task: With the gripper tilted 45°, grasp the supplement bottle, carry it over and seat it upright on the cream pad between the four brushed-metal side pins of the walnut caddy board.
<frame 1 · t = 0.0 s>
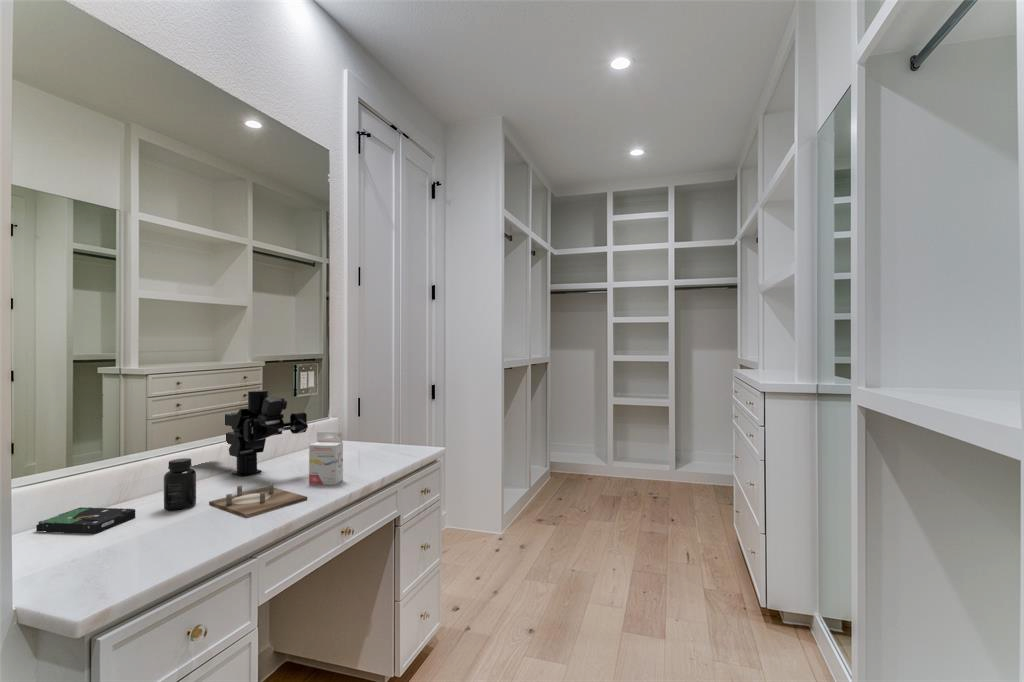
hand: (293, 428, 143), 17 cm above the worktop, tool horizontal, fingers open, 9 cm apart
supplement bottle: (180, 508, 124), on the worktop
caddy: (250, 501, 128), on the worktop
ink cartridge box: (326, 483, 146), on the worktop
disk drive: (87, 527, 112), on the worktop
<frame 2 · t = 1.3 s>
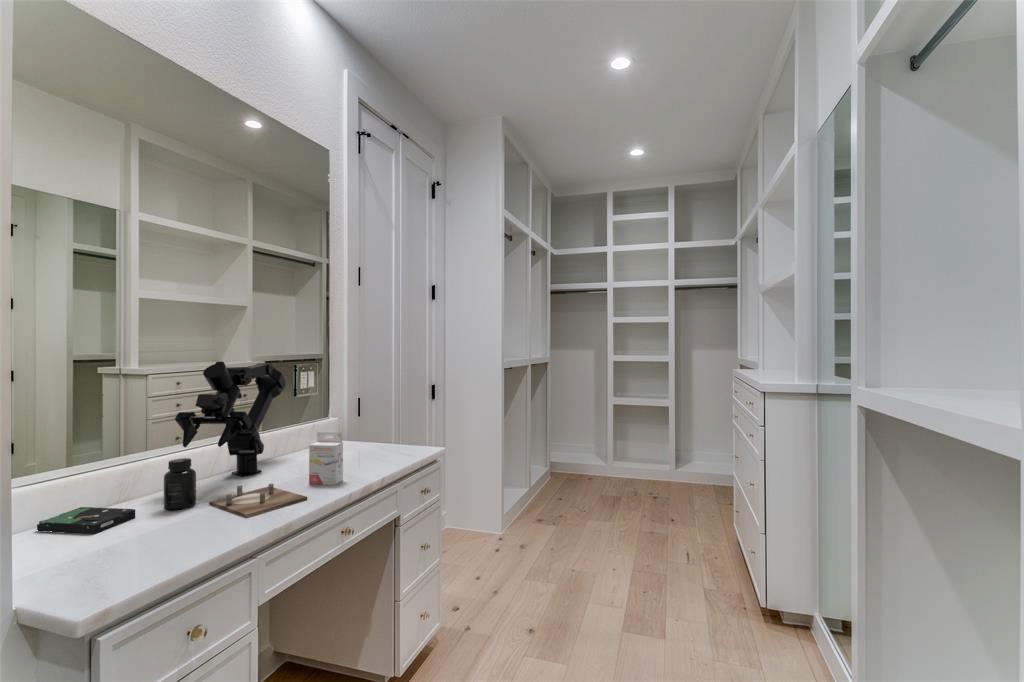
hand: (201, 446, 133), 14 cm above the worktop, tool tilted 45°, fingers open, 9 cm apart
nothing on the worktop moved.
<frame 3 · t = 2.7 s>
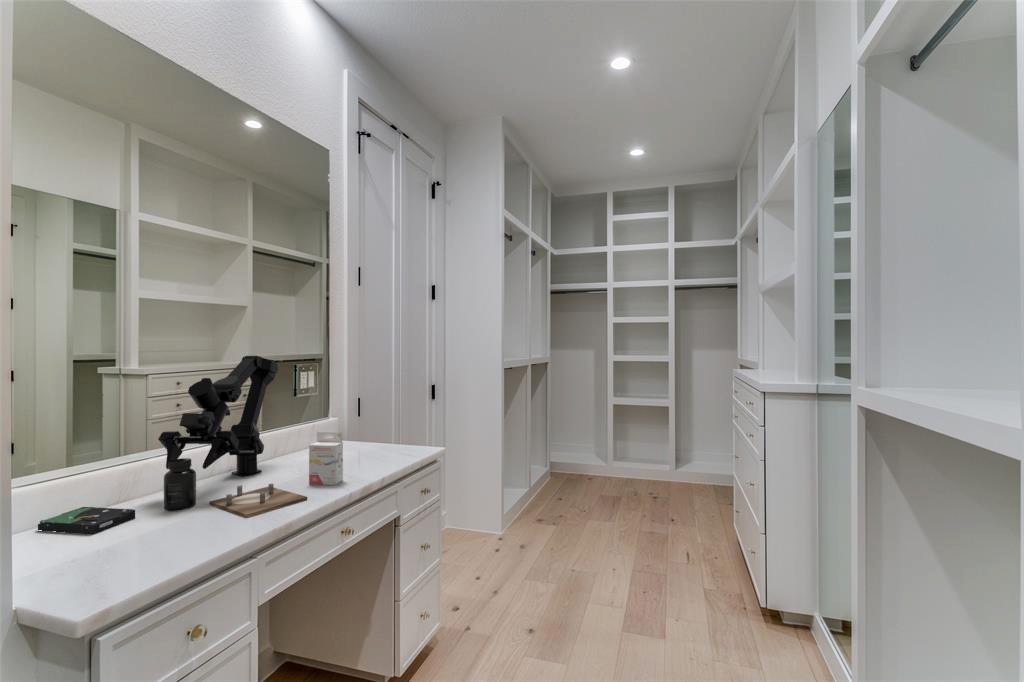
hand: (185, 468, 126), 9 cm above the worktop, tool tilted 45°, fingers open, 9 cm apart
nothing on the worktop moved.
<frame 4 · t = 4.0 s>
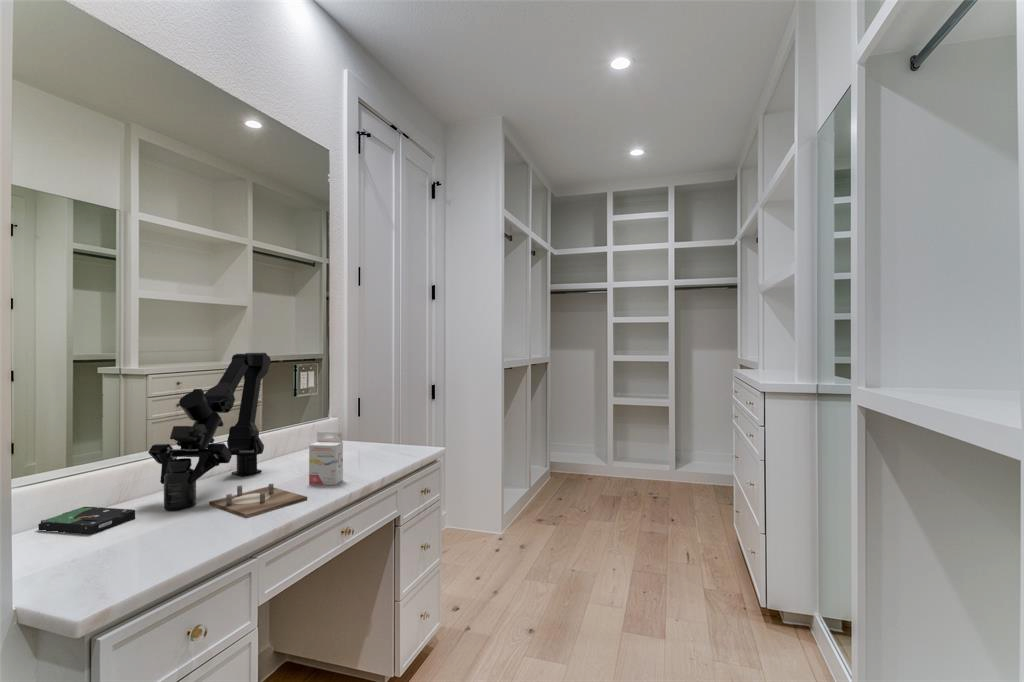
hand: (176, 482, 123), 7 cm above the worktop, tool tilted 45°, fingers closed on supplement bottle, 7 cm apart
supplement bottle: (180, 508, 124), on the worktop, touching gripper
everything else where it was.
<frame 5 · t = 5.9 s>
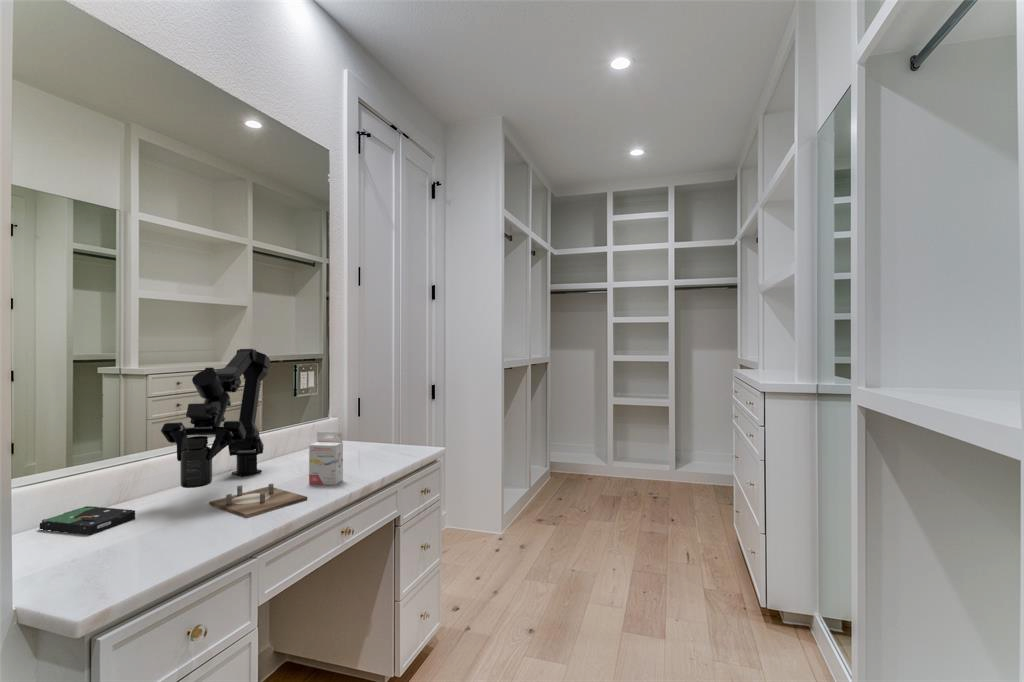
hand: (193, 459, 123), 12 cm above the worktop, tool tilted 45°, fingers closed on supplement bottle, 7 cm apart
supplement bottle: (196, 485, 124), point 5 cm above the worktop, touching gripper
everything else where it was.
when the fingers open (9 cm above the worktop, at t = 8.0 s): supplement bottle drops 1 cm, resting on caddy.
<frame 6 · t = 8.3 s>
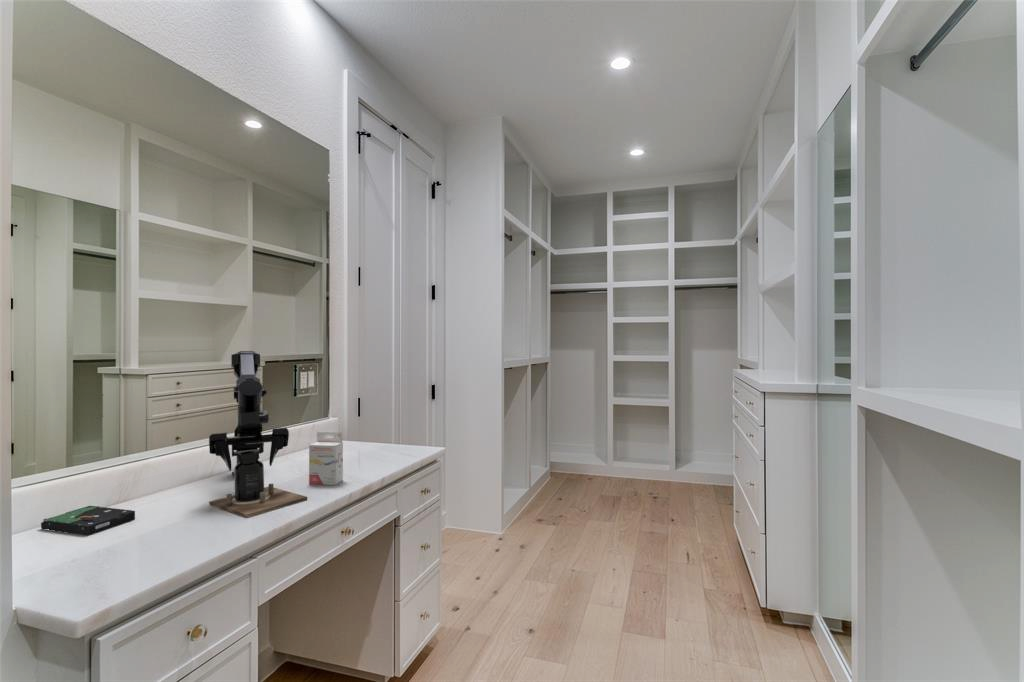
hand: (250, 467, 127), 9 cm above the worktop, tool tilted 45°, fingers open, 9 cm apart
supplement bottle: (249, 499, 128), point 1 cm above the worktop, touching caddy
everything else where it was.
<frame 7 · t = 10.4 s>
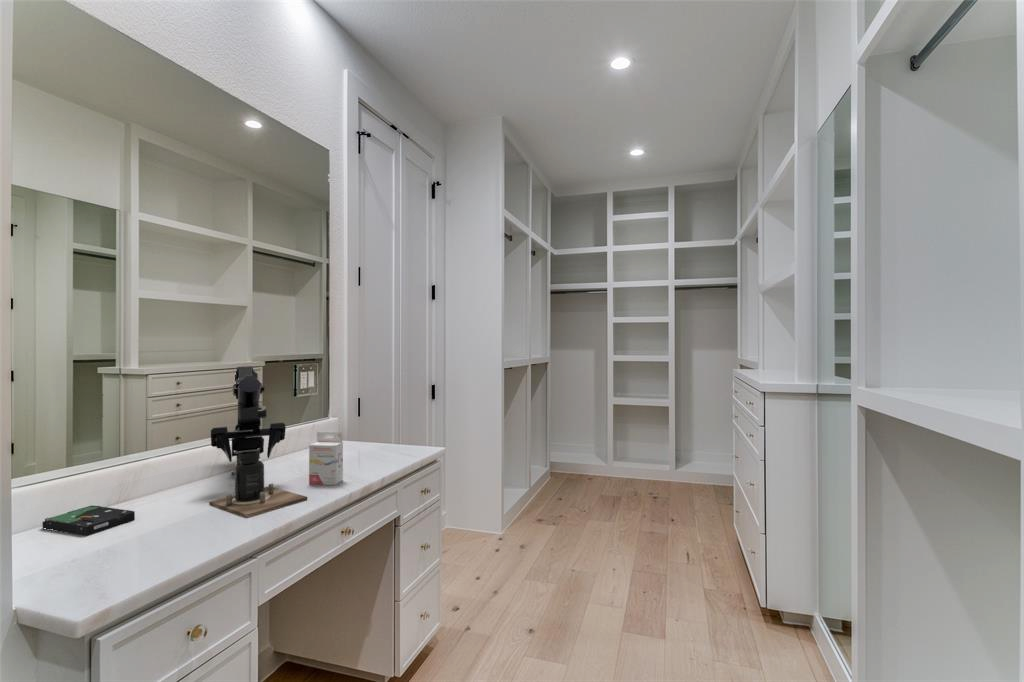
hand: (249, 459, 136), 9 cm above the worktop, tool tilted 45°, fingers open, 9 cm apart
nothing on the worktop moved.
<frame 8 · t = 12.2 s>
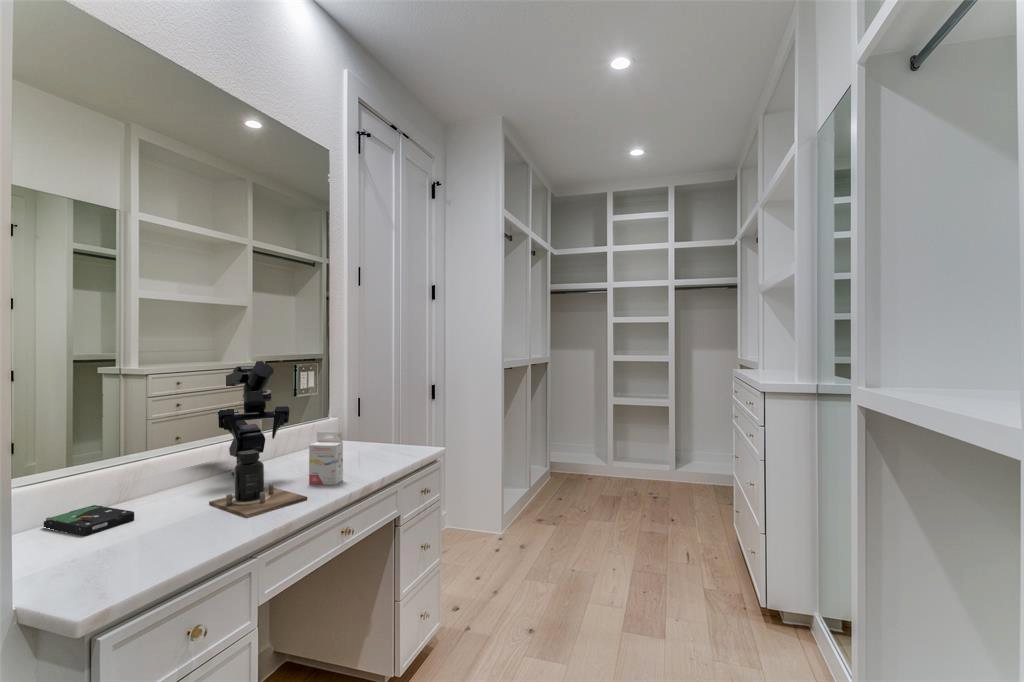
hand: (255, 439, 142), 14 cm above the worktop, tool tilted 45°, fingers open, 9 cm apart
nothing on the worktop moved.
at the end: supplement bottle 0.3 cm off-centre on the caddy, point 0.7 cm above the caddy's base; supplement bottle tilted 1°; the gripper is holding nothing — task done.
